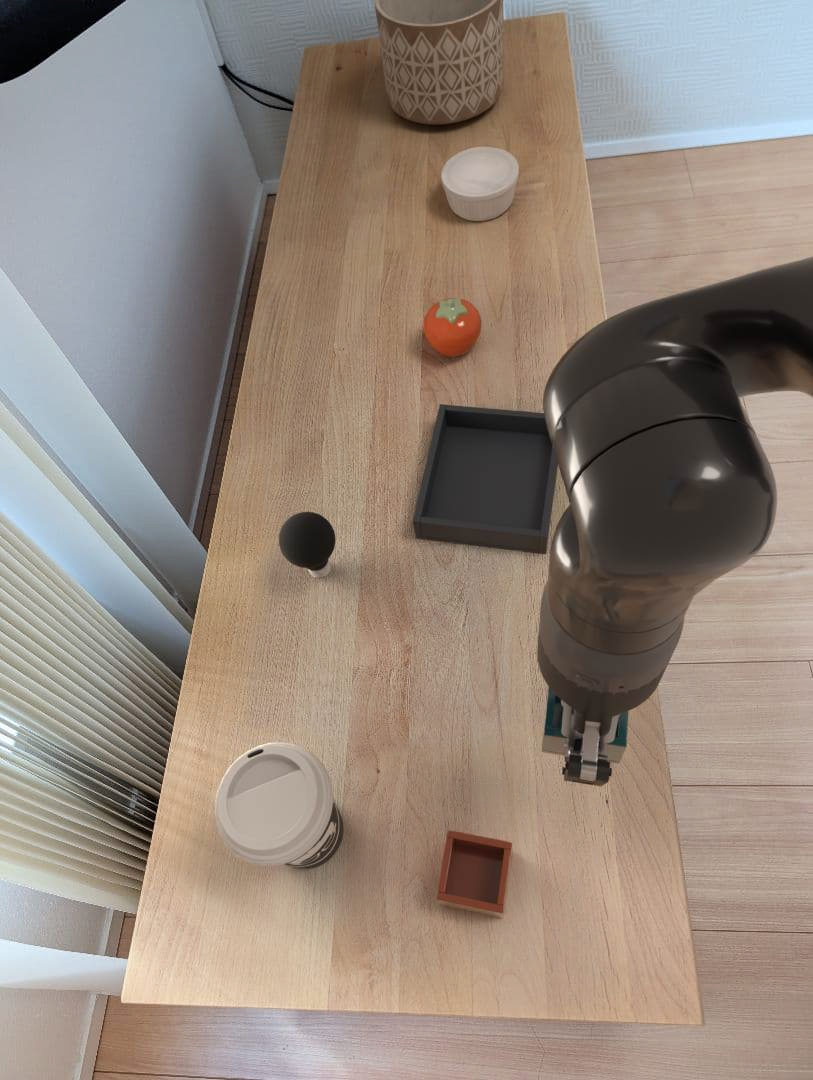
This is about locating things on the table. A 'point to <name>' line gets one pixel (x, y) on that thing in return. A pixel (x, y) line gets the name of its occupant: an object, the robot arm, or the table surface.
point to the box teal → (556, 740)
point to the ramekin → (480, 182)
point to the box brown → (475, 873)
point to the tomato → (452, 326)
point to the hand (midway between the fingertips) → (583, 718)
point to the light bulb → (308, 542)
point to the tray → (488, 480)
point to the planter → (441, 57)
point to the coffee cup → (279, 808)
